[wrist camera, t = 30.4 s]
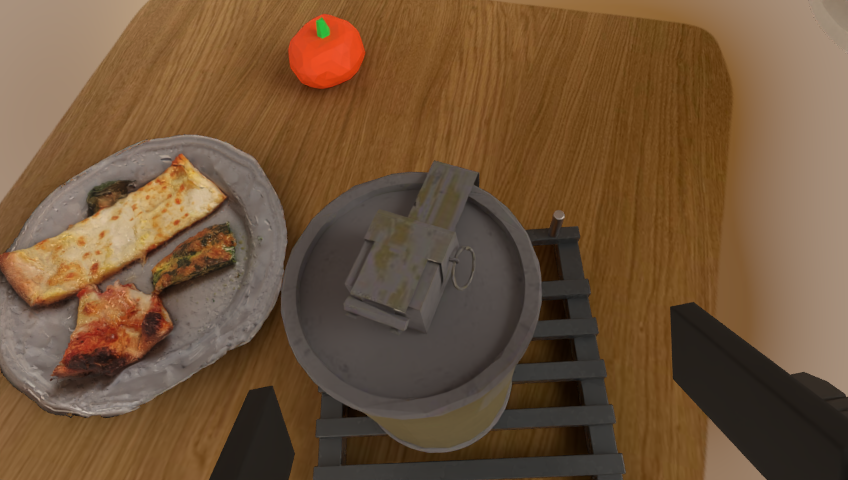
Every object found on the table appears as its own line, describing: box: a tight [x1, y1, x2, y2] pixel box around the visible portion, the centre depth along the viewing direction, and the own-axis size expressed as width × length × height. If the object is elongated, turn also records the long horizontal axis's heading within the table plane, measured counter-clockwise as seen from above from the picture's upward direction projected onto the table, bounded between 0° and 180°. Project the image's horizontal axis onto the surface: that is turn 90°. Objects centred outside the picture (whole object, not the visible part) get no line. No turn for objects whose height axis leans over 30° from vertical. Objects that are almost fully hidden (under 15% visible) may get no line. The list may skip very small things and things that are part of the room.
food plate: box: [0, 134, 288, 418], centre depth 43 cm, size 25×23×4 cm
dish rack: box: [313, 210, 626, 480], centre depth 35 cm, size 20×22×6 cm
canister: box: [281, 161, 542, 453], centre depth 27 cm, size 11×10×20 cm
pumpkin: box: [288, 14, 365, 89], centre depth 50 cm, size 7×8×6 cm
